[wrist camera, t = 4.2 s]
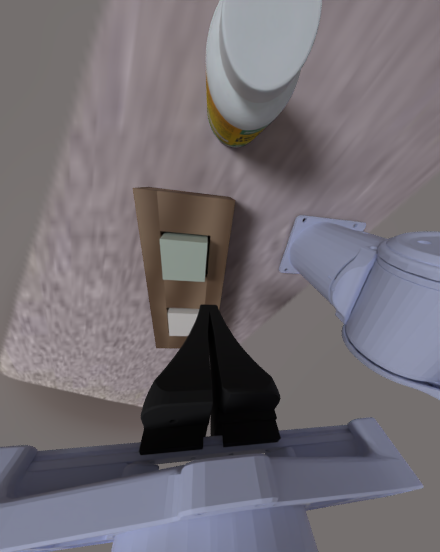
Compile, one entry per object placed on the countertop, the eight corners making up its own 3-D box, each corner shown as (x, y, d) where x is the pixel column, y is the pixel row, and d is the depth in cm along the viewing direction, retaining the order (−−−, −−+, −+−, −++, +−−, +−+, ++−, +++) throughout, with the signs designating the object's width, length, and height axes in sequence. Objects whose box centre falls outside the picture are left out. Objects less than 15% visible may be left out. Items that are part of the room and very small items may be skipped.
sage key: (207, 234, 17) (207, 243, 15) (205, 268, 20) (204, 281, 17) (166, 230, 17) (159, 238, 14) (168, 266, 19) (162, 279, 16)
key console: (229, 196, 18) (235, 200, 14) (212, 329, 29) (213, 348, 25) (147, 186, 17) (132, 187, 13) (162, 327, 28) (156, 348, 24)
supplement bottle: (243, 45, 12) (315, -223, 4) (274, 119, 15) (359, 39, 7) (193, 103, 14) (173, -12, 6) (229, 162, 16) (251, 140, 8)
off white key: (202, 299, 23) (201, 314, 21) (201, 320, 25) (200, 336, 23) (172, 298, 23) (167, 313, 20) (173, 320, 25) (169, 335, 22)
